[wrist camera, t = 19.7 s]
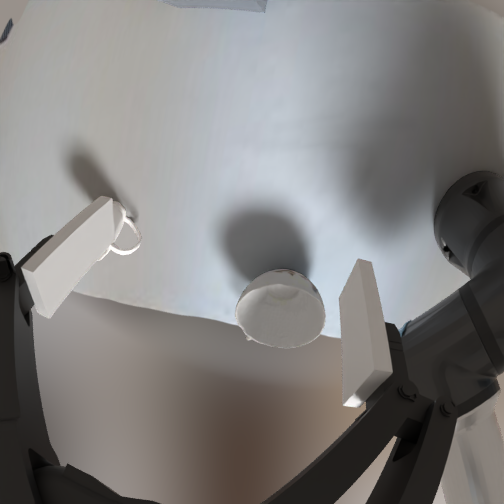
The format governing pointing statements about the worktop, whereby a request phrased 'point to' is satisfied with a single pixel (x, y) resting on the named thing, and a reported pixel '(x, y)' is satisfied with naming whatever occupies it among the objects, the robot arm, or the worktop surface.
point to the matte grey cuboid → (221, 4)
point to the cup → (119, 219)
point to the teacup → (281, 309)
